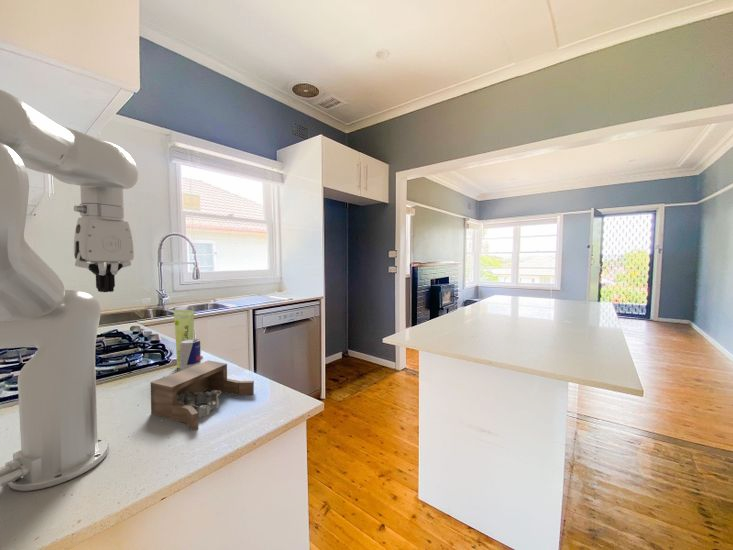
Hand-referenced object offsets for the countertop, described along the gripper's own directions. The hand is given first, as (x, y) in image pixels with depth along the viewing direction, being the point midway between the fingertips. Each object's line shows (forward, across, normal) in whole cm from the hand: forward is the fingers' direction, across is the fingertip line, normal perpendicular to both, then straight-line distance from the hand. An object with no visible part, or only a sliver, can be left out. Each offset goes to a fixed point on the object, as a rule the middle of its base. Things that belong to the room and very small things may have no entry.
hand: (105, 291), depth 71 cm
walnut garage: (+29, +11, -19) cm, 36 cm away
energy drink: (+29, +20, -2) cm, 36 cm away
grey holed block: (+30, +8, -19) cm, 36 cm away
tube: (+30, +27, +9) cm, 41 cm away
